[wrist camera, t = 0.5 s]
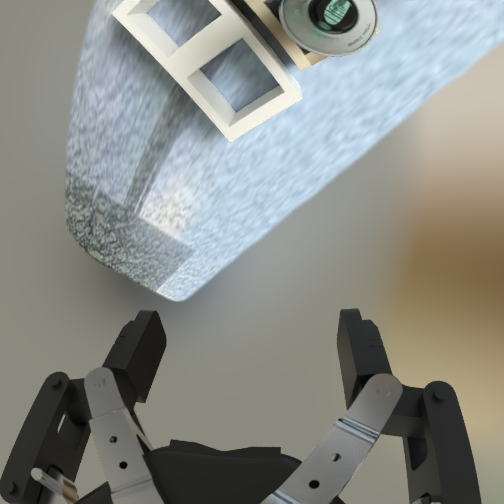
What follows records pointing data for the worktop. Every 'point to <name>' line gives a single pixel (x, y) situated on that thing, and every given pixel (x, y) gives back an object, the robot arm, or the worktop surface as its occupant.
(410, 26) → the worktop surface
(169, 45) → the frame
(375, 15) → the spray can
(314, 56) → the socket block
